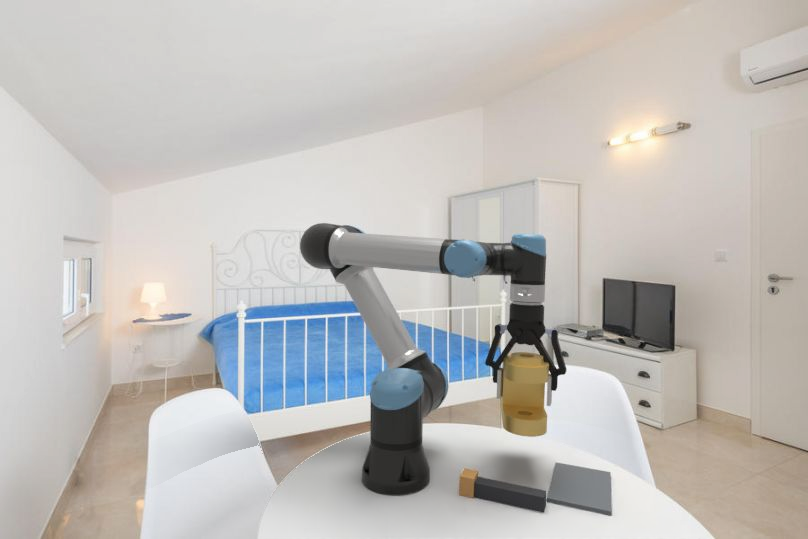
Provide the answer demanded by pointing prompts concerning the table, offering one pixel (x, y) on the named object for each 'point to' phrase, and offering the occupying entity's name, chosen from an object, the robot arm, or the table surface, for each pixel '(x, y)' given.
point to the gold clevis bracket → (524, 394)
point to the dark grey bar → (501, 491)
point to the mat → (581, 488)
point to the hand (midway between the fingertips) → (523, 400)
